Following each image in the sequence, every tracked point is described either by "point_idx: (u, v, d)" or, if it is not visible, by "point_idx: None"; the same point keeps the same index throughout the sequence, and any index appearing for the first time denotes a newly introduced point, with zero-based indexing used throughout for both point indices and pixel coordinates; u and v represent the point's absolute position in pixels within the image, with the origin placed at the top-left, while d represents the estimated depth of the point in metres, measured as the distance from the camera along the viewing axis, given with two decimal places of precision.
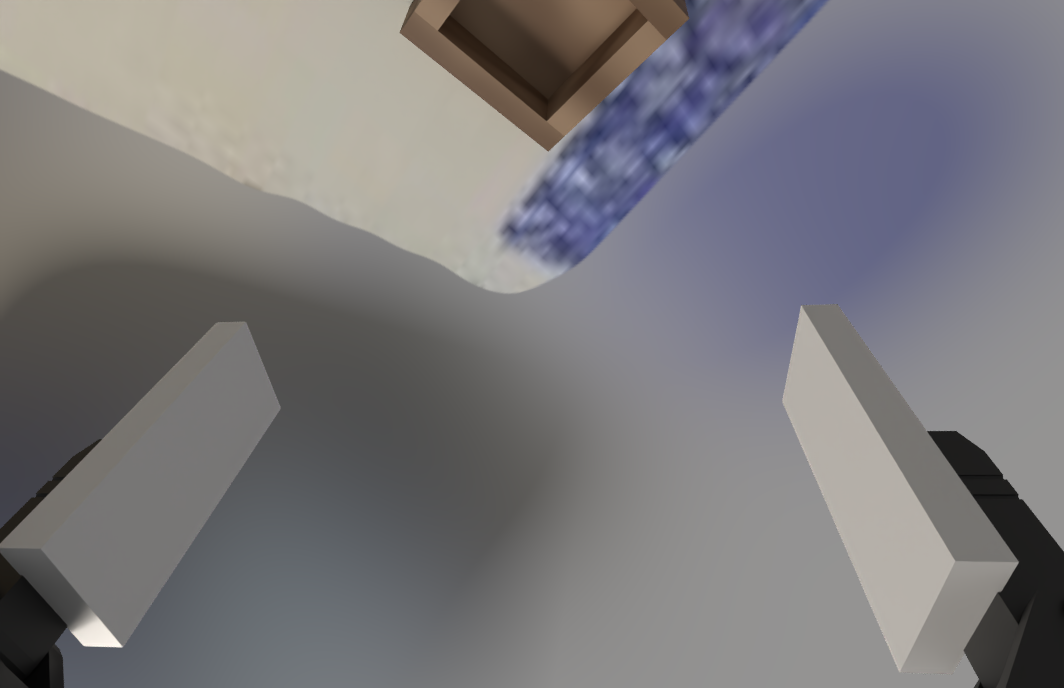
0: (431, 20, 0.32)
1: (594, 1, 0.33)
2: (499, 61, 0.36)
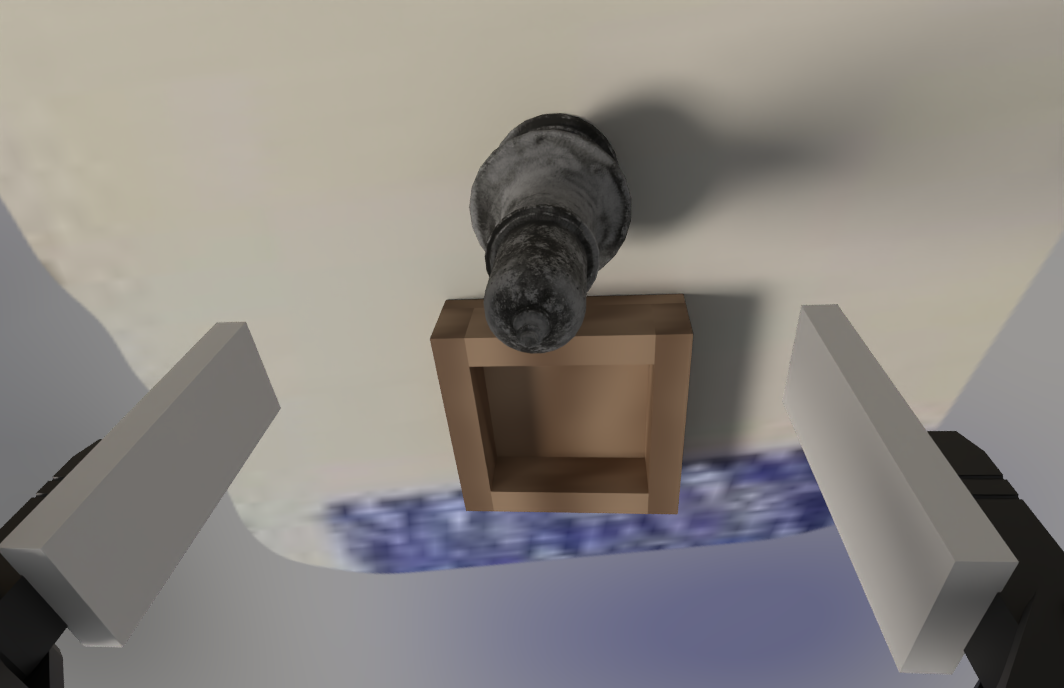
0: (472, 356, 0.26)
1: (608, 429, 0.31)
2: (487, 406, 0.30)
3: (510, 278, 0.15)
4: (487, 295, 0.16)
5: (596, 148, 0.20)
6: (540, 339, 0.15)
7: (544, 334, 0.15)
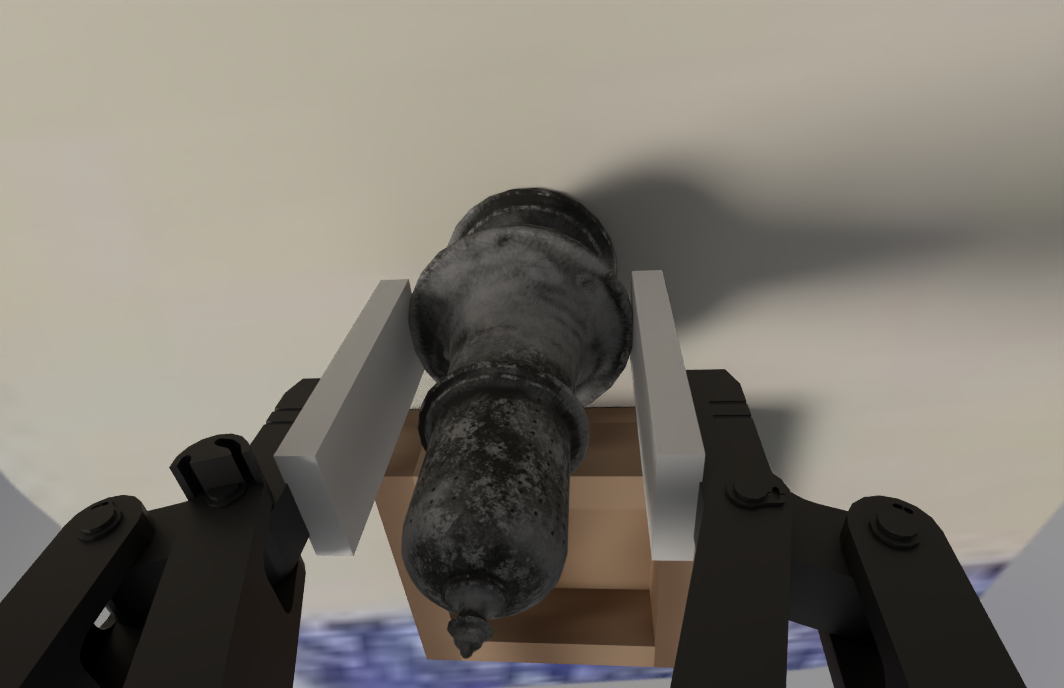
0: None
1: (603, 559, 0.25)
2: None
3: (439, 523, 0.09)
4: (404, 539, 0.09)
5: (584, 252, 0.14)
6: (488, 634, 0.09)
7: (497, 612, 0.09)
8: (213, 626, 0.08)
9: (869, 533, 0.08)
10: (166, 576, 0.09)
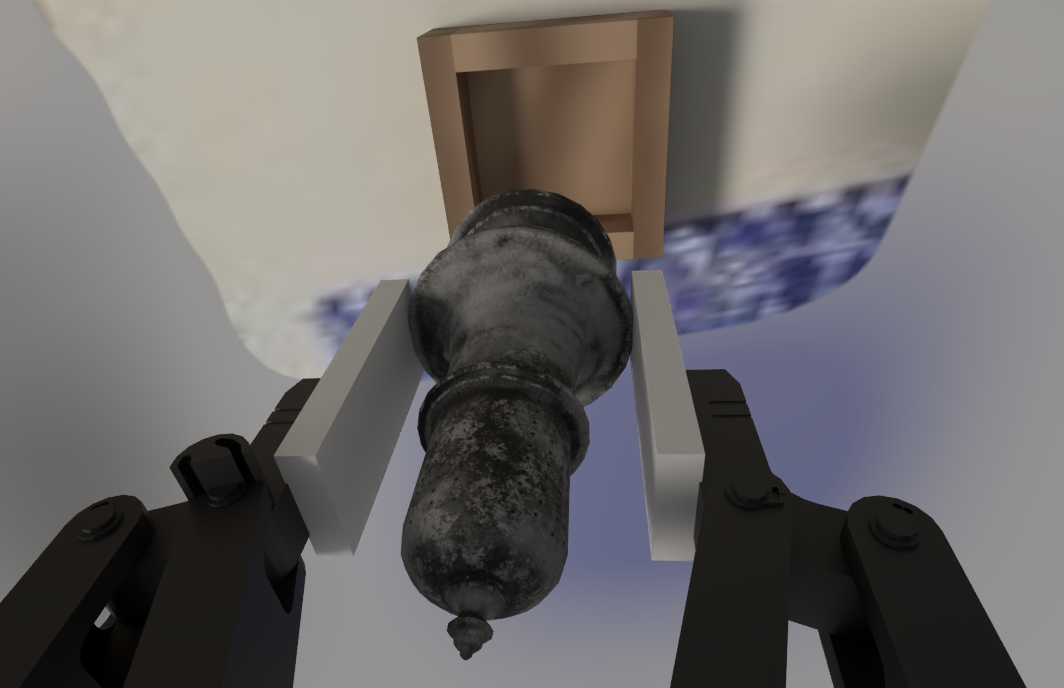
0: (458, 58, 0.26)
1: (593, 178, 0.31)
2: (474, 151, 0.31)
3: (439, 524, 0.09)
4: (404, 540, 0.09)
5: (584, 253, 0.14)
6: (488, 635, 0.09)
7: (497, 613, 0.09)
8: (213, 626, 0.08)
9: (869, 533, 0.08)
10: (165, 576, 0.09)
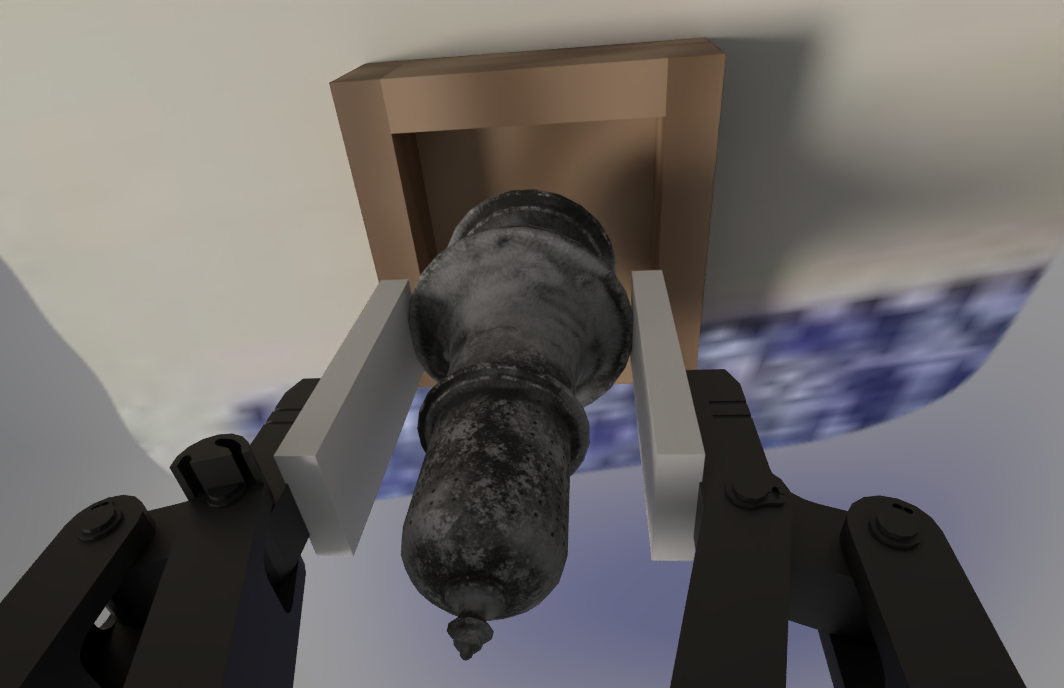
0: (394, 113, 0.17)
1: None
2: (430, 233, 0.22)
3: (439, 525, 0.09)
4: (404, 540, 0.09)
5: (584, 253, 0.14)
6: (488, 636, 0.09)
7: (497, 613, 0.09)
8: (214, 627, 0.08)
9: (869, 533, 0.08)
10: (166, 576, 0.09)
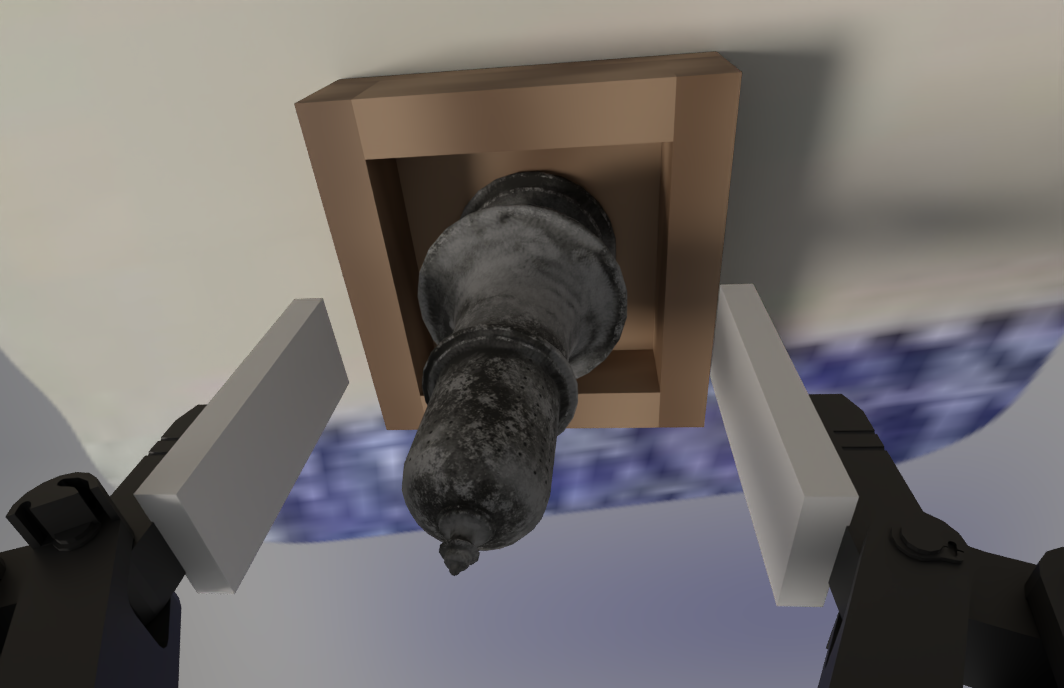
0: (368, 137, 0.15)
1: None
2: (413, 264, 0.20)
3: (434, 460, 0.10)
4: (404, 475, 0.11)
5: (580, 229, 0.15)
6: (475, 557, 0.10)
7: (485, 540, 0.10)
8: (75, 668, 0.07)
9: None
10: (14, 630, 0.08)
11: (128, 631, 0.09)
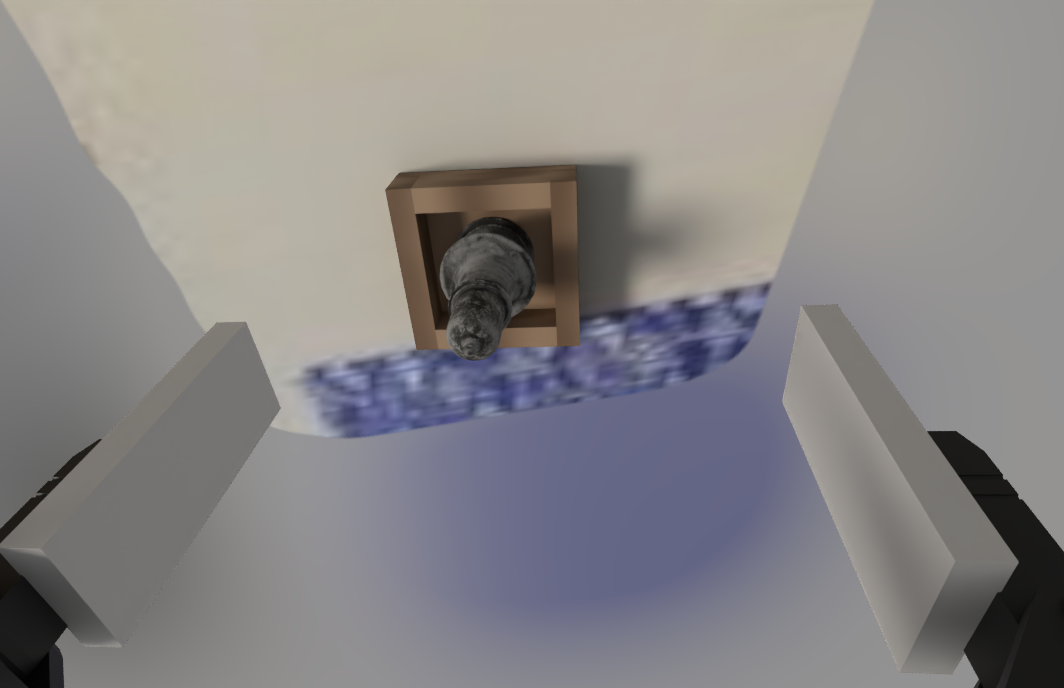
0: (417, 204, 0.35)
1: None
2: (432, 262, 0.39)
3: (459, 320, 0.29)
4: (447, 329, 0.30)
5: (512, 242, 0.34)
6: (475, 351, 0.29)
7: (477, 349, 0.29)
8: None
9: None
10: None
11: (0, 685, 0.08)
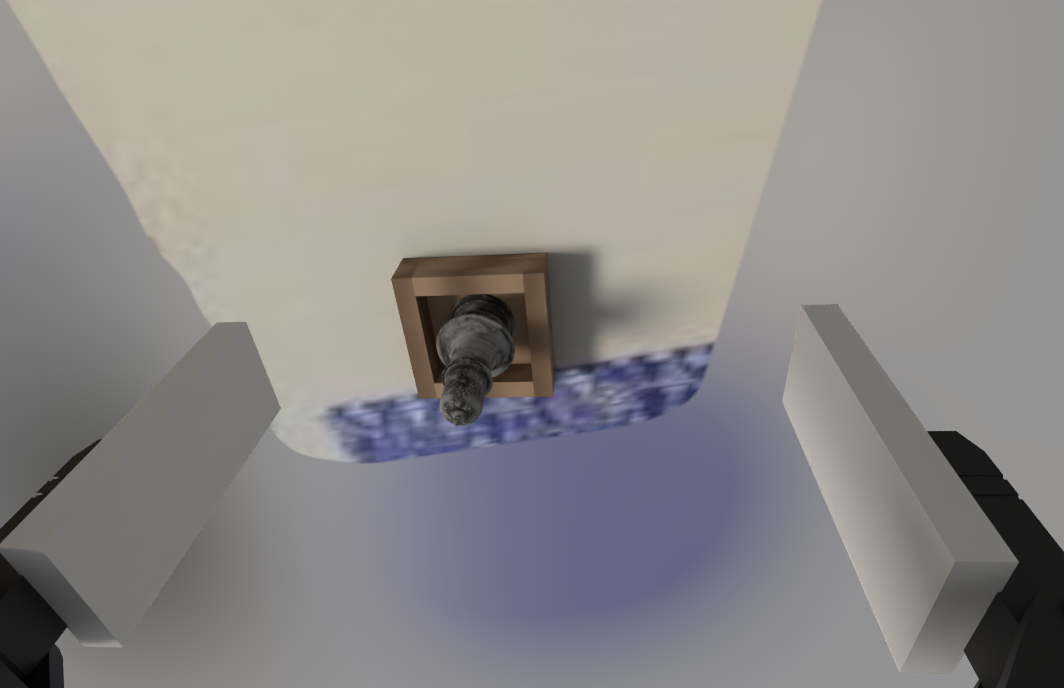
0: (417, 289, 0.43)
1: None
2: (431, 328, 0.47)
3: (449, 397, 0.38)
4: (440, 403, 0.38)
5: (493, 321, 0.43)
6: (461, 422, 0.37)
7: (463, 419, 0.38)
8: None
9: None
10: None
11: (0, 684, 0.08)
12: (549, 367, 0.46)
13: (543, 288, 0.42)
